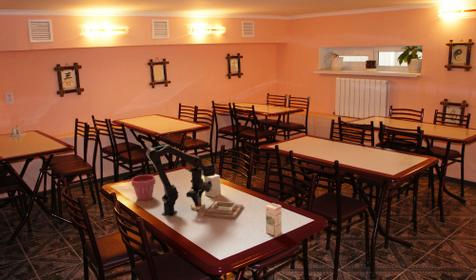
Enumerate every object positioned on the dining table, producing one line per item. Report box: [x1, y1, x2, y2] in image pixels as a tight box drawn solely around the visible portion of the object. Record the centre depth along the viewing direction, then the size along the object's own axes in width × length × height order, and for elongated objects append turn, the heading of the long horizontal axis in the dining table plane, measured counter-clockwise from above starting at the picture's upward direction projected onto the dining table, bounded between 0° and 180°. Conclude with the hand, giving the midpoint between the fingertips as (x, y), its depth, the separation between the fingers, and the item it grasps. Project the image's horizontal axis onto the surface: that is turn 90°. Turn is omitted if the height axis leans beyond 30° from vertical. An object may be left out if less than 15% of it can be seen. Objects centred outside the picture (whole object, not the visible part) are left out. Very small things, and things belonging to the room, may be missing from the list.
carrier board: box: [202, 200, 244, 220], centre depth 241 cm, size 18×18×4 cm
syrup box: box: [265, 202, 283, 237], centre depth 211 cm, size 6×6×14 cm
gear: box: [190, 196, 206, 212], centre depth 247 cm, size 8×8×6 cm
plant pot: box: [131, 174, 156, 201], centre depth 265 cm, size 14×14×13 cm
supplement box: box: [203, 173, 222, 198], centre depth 267 cm, size 7×7×13 cm
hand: (197, 203), depth 247 cm, fingers closed on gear, 4 cm apart
